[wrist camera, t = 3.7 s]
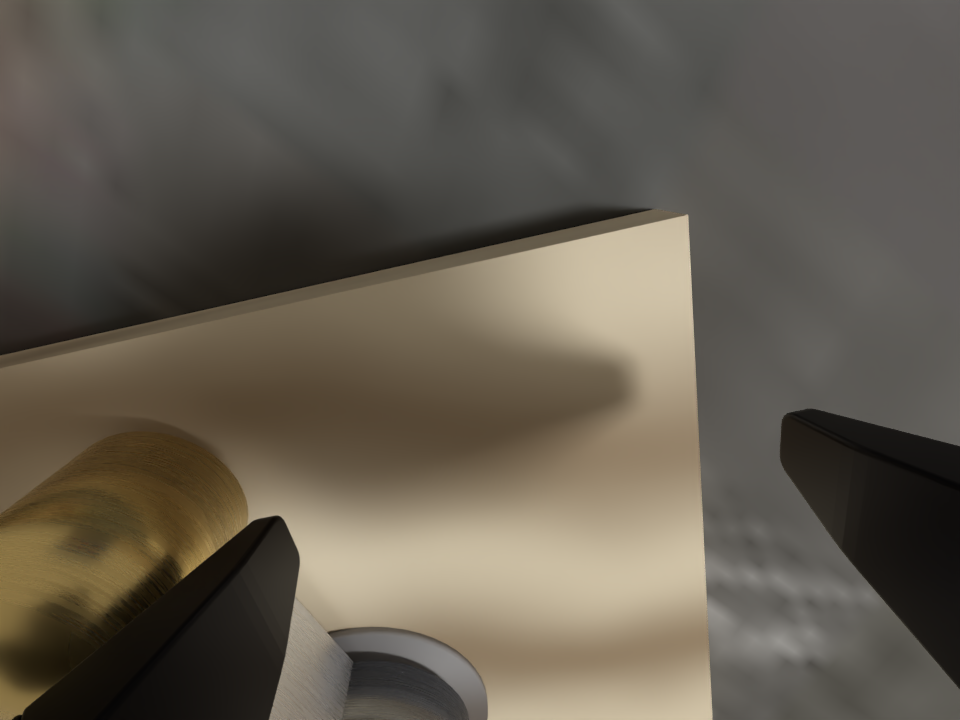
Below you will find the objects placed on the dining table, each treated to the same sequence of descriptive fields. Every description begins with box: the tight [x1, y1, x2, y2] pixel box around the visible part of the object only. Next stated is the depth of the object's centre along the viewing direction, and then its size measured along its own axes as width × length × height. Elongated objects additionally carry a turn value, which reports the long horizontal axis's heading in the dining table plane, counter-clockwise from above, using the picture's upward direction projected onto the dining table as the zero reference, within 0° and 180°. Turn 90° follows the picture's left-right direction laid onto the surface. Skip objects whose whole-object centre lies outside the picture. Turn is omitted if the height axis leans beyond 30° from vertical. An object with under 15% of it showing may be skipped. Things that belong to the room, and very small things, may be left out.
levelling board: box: [0, 209, 712, 720], centre depth 13 cm, size 20×18×2 cm
